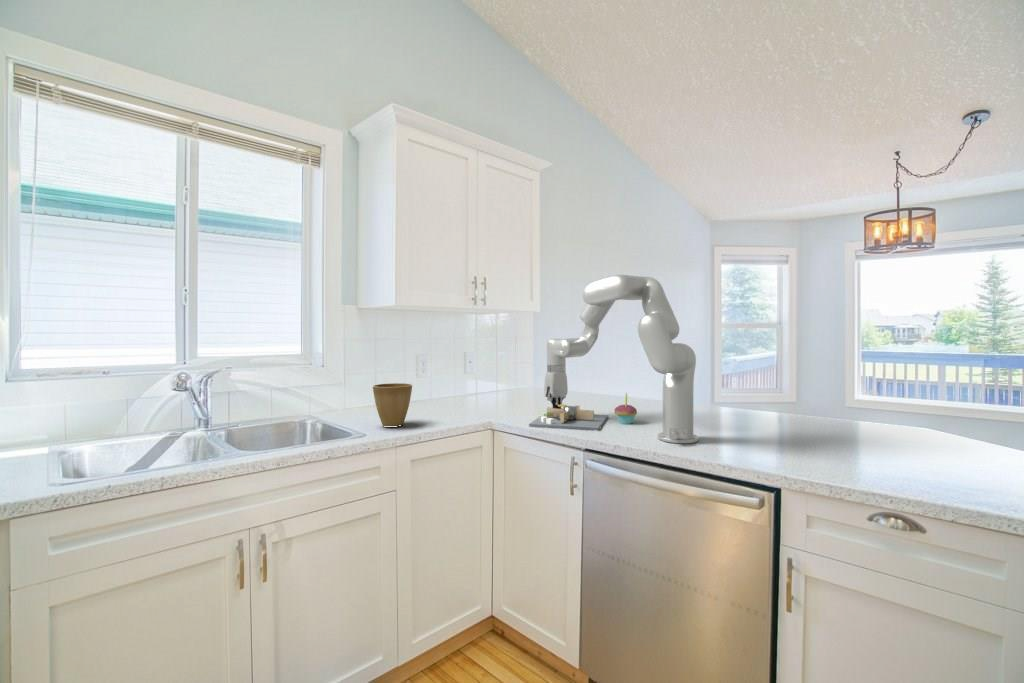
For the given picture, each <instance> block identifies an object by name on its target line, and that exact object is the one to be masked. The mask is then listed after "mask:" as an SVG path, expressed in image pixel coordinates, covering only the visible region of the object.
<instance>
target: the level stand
mask: <svg viewBox="0 0 1024 683" xmlns="http://www.w3.org/2000/svg"><path fill="white" fill-rule="evenodd" d="M608 417H609V415H608V414H595V413H594V420H586V419H575V420H567V421H566V422H560V419H557V418H556V417H548V416H547V410H546V411H543V412H541V413H539V414H538V417H537V418H536V419H534V420H532V422H530V423H529V424H528V427H529V428H530V427H531V428H544V427H548V428H547V429H561V430H563V429H564V430H565V429H567V430H578V429H579V431H580V430H581V431H582V430H583V431H594V430H598V431H600V430H601V428H602V426H603V425H604V423H605V422H606V420H608ZM600 427H601V428H600Z"/></svg>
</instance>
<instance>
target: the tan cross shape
mask: <svg viewBox="0 0 1024 683" xmlns="http://www.w3.org/2000/svg"><path fill="white" fill-rule="evenodd" d="M558 406H559V407H561V408H553V407H550V406H549V407H547V408H546V411H547V416H548V417H556V418H557V419H560V422H566V421H567V420H575V419H586V420H594V414H595V410H591V409H590V410H589V409H580V406H581V405H568V404H563V403H562V404H558Z"/></svg>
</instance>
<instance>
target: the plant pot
mask: <svg viewBox="0 0 1024 683" xmlns="http://www.w3.org/2000/svg"><path fill="white" fill-rule="evenodd" d="M372 391H373V397H374V398H373V399H374V401H375V402H374V403H375V406H376V411H377V414H378V417H379V420H380V423H381V424H382V427H383V426H399V425H402V424H403V425H404V423H405V420H406V417H407V414H408V410H409V406H410V403H411V397H412V391H413V384H412V383H403V382H402V383H400V382H398V383H396V382H395V383H381V384H380V383H379V384H373V385H372Z"/></svg>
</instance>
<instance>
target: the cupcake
mask: <svg viewBox="0 0 1024 683" xmlns="http://www.w3.org/2000/svg"><path fill="white" fill-rule="evenodd" d="M614 414H615V415H616V416H617V418H618V421H619V423H620V424H622V425H631V423H632V424H633V422H634V418H635V417H636V415H637V414H638V411H637V408H635V406H633V405H631V404H628V392H626V393H625V402H624V404H620V405H618V406H615V408H614Z"/></svg>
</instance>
